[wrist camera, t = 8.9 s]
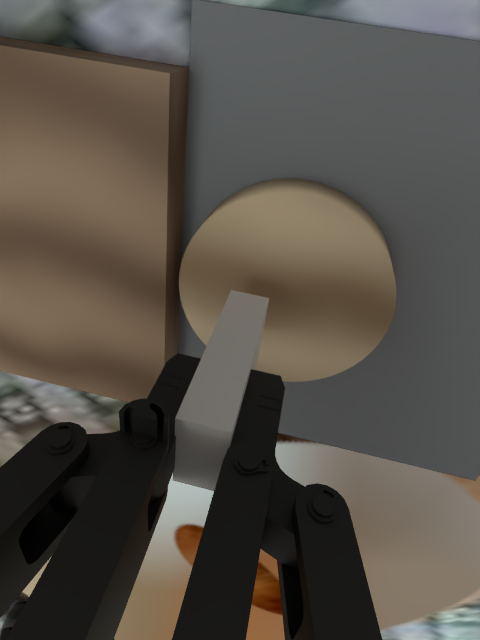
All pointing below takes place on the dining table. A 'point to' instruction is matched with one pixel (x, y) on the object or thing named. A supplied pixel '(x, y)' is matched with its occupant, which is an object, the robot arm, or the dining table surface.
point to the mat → (370, 192)
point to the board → (90, 216)
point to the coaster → (294, 275)
